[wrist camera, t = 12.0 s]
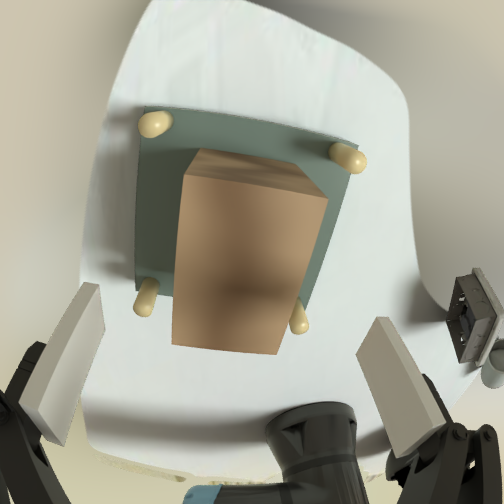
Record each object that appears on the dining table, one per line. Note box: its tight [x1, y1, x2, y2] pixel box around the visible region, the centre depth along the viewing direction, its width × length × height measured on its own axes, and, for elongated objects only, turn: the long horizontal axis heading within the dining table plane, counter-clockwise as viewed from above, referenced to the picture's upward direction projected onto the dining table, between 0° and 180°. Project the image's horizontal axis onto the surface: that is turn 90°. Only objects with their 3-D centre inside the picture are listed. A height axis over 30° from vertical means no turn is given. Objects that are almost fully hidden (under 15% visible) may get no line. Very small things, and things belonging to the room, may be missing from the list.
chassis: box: [133, 106, 367, 335], centre depth 22 cm, size 16×16×5 cm
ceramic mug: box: [481, 339, 504, 389], centre depth 37 cm, size 11×8×8 cm
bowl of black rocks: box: [386, 448, 470, 488], centre depth 44 cm, size 20×20×19 cm
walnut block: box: [172, 148, 329, 355], centre depth 20 cm, size 7×11×8 cm, turn 169°
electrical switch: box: [446, 268, 504, 366], centre depth 28 cm, size 9×5×9 cm, turn 13°
